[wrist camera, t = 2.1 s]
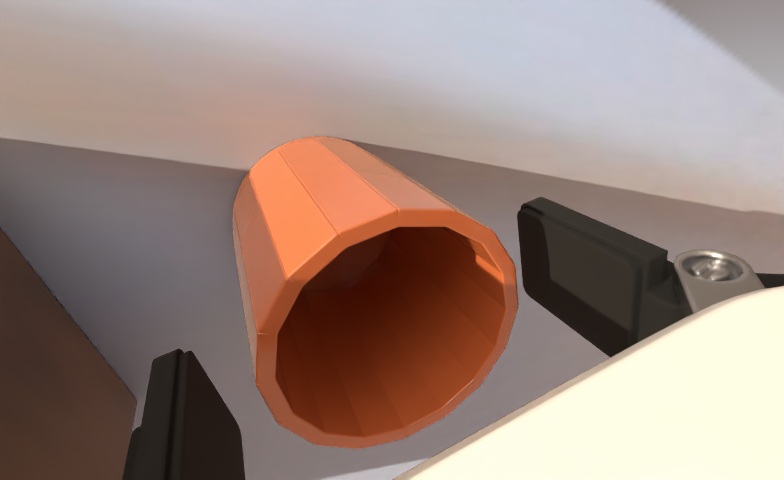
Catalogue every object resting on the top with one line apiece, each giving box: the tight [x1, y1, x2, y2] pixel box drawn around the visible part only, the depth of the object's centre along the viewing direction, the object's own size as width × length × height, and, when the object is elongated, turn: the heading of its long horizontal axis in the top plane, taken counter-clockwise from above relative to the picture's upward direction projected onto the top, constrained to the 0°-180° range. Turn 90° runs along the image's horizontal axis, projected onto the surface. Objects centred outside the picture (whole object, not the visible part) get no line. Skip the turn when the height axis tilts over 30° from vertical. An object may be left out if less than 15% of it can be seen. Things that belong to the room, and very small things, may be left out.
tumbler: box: [232, 136, 518, 449], centre depth 13 cm, size 6×6×8 cm
